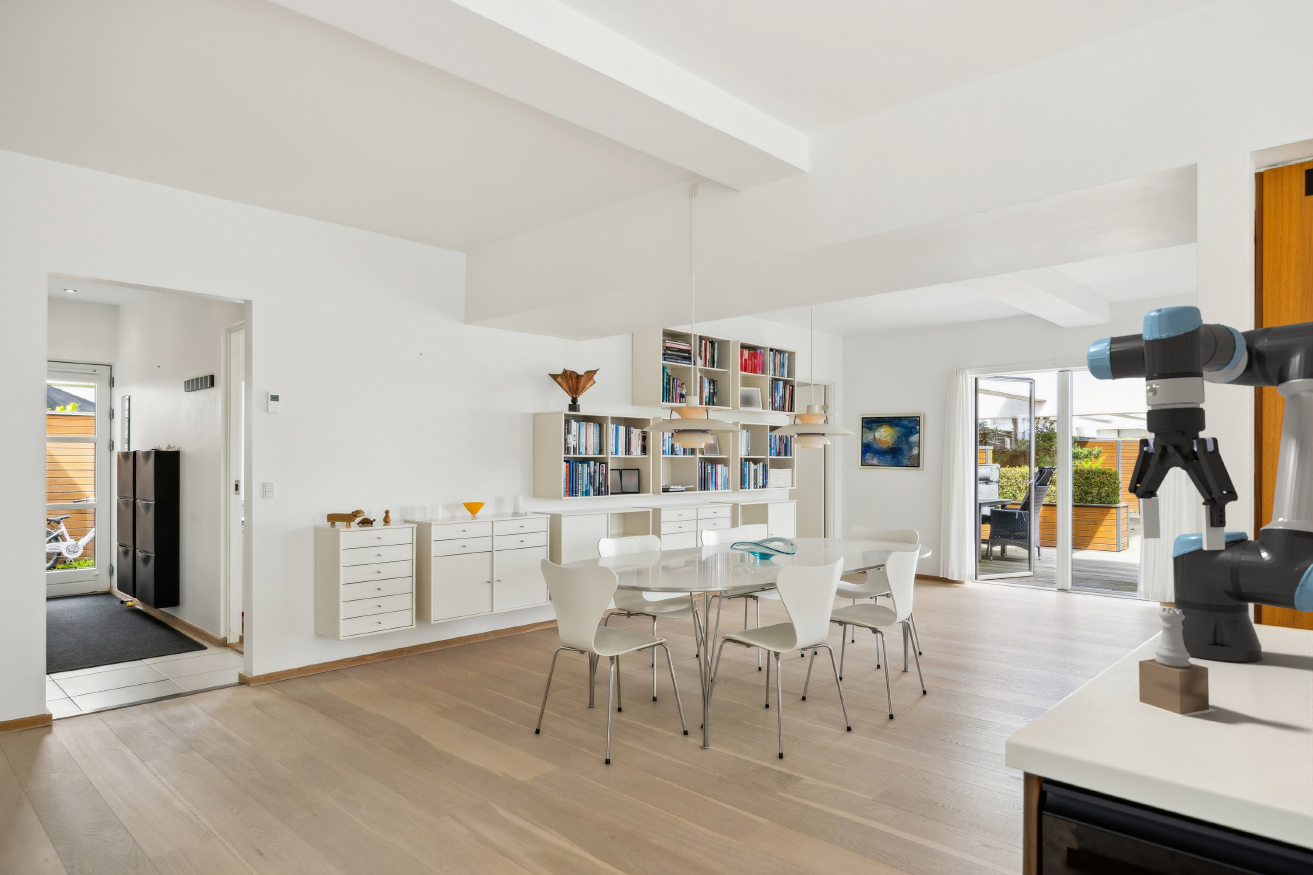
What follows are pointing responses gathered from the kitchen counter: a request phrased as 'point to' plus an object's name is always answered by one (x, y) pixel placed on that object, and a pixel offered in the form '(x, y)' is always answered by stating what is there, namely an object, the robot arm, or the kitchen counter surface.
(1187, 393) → the robot arm
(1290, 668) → the kitchen counter surface
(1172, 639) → the rook chess piece
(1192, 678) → the walnut cube
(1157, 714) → the kitchen counter surface
